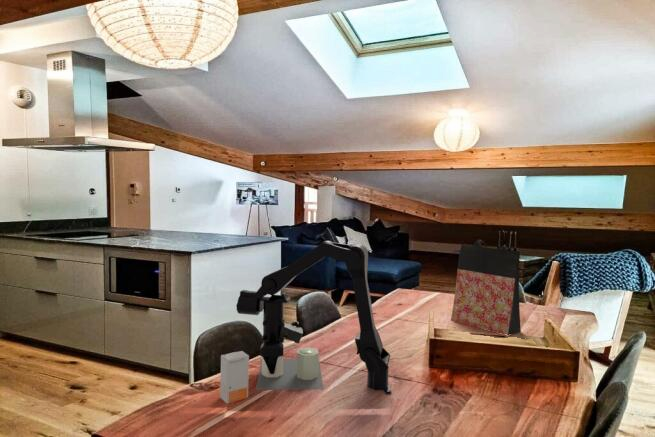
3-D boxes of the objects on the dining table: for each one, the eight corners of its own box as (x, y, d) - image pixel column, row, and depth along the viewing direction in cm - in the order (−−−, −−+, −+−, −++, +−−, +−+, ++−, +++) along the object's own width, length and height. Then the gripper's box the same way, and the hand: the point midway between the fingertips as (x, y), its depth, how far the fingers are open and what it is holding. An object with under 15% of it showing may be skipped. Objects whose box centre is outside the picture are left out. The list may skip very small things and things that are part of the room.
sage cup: (318, 379, 126) (319, 355, 126) (297, 379, 126) (297, 355, 125) (317, 371, 132) (317, 347, 132) (296, 371, 132) (297, 347, 131)
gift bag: (524, 330, 180) (528, 243, 178) (505, 337, 171) (509, 245, 169) (461, 313, 203) (464, 236, 201) (441, 319, 194) (444, 238, 192)
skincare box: (226, 407, 111) (227, 360, 110) (219, 400, 115) (220, 354, 114) (249, 401, 115) (249, 355, 114) (241, 394, 118) (242, 350, 117)
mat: (323, 392, 120) (323, 389, 120) (255, 393, 119) (255, 389, 119) (318, 361, 142) (318, 358, 142) (261, 362, 141) (261, 358, 141)
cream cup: (282, 377, 127) (283, 352, 127) (261, 377, 127) (261, 353, 127) (283, 368, 133) (283, 345, 133) (262, 369, 133) (263, 345, 133)
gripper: (302, 326, 121) (301, 382, 122) (300, 307, 139) (300, 357, 140) (260, 326, 120) (259, 383, 121) (264, 307, 138) (263, 357, 139)
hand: (272, 369), depth 130 cm, fingers closed on cream cup, 6 cm apart
